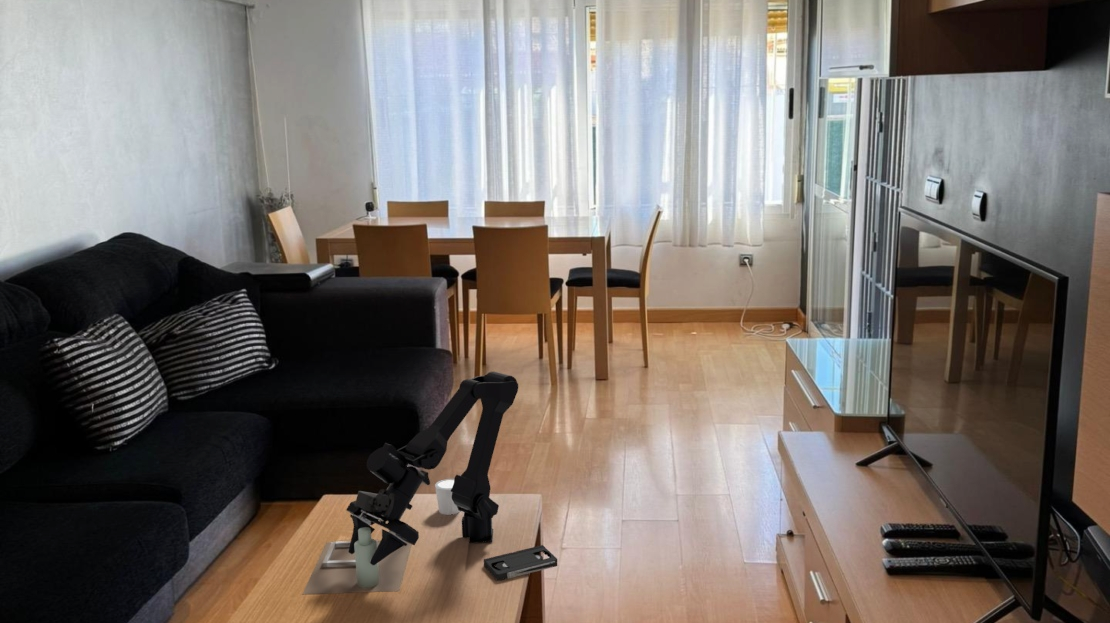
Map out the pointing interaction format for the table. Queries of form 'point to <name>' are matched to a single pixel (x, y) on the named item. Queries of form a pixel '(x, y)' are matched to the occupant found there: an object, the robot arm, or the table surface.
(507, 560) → the vhs tape
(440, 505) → the white cup
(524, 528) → the table surface
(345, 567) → the board
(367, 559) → the bottle
